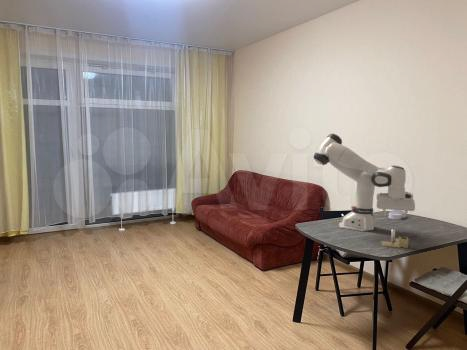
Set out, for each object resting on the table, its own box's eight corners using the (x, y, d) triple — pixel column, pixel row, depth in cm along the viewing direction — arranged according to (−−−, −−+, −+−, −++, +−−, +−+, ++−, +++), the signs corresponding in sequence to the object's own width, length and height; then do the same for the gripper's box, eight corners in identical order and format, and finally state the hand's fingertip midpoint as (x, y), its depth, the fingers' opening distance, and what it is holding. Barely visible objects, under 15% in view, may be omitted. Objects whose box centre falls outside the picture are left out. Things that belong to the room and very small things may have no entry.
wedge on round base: (392, 215, 273) (386, 217, 263) (393, 206, 272) (387, 209, 262) (404, 217, 267) (399, 220, 257) (405, 208, 266) (400, 211, 256)
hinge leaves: (382, 245, 199) (382, 237, 198) (380, 238, 212) (381, 230, 211) (409, 248, 194) (410, 240, 193) (406, 241, 207) (406, 233, 207)
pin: (390, 242, 204) (391, 229, 203) (390, 241, 206) (391, 228, 205) (394, 243, 203) (395, 230, 202) (394, 242, 205) (395, 229, 204)
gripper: (377, 193, 201) (375, 216, 203) (416, 195, 194) (414, 219, 196) (376, 191, 207) (375, 214, 209) (414, 194, 200) (412, 217, 202)
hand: (394, 217), depth 202 cm, fingers open, 8 cm apart
